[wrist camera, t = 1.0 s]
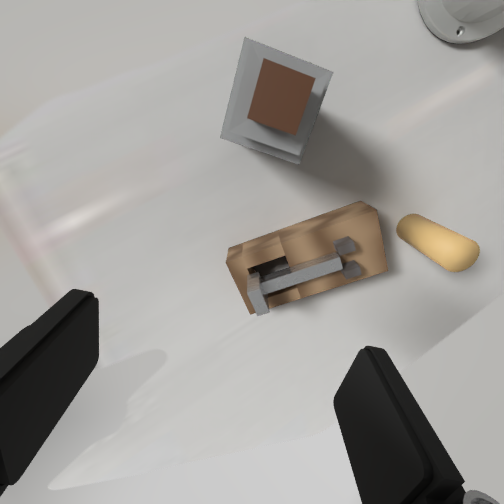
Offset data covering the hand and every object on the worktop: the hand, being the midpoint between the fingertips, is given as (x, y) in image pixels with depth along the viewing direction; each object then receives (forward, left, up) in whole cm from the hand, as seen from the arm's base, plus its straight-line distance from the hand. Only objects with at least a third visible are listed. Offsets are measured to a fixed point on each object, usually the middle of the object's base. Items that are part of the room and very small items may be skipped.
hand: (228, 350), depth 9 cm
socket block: (-5, +12, -29) cm, 32 cm away
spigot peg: (-21, +14, -29) cm, 38 cm away
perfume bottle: (-6, -7, -29) cm, 31 cm away
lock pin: (-3, +12, -24) cm, 27 cm away
